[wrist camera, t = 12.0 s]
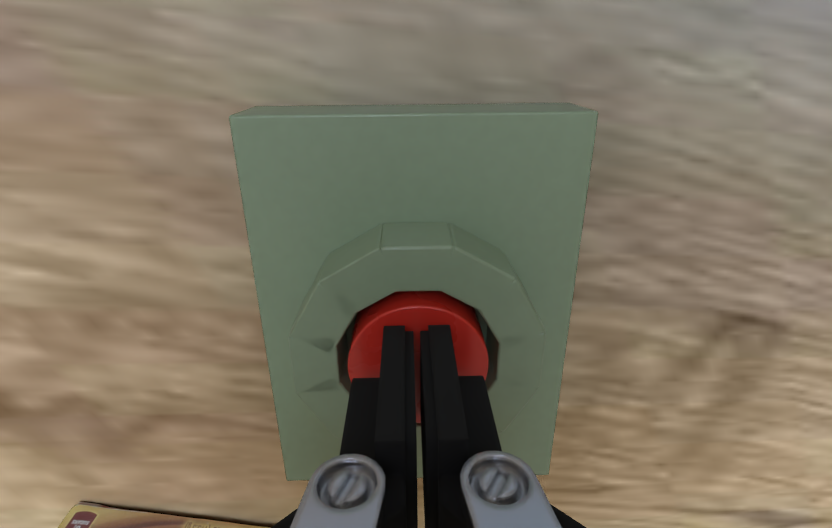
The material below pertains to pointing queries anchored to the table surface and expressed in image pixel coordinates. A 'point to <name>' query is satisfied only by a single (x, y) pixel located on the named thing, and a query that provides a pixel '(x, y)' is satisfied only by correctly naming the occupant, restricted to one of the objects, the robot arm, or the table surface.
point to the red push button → (417, 333)
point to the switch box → (414, 247)
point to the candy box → (134, 519)
